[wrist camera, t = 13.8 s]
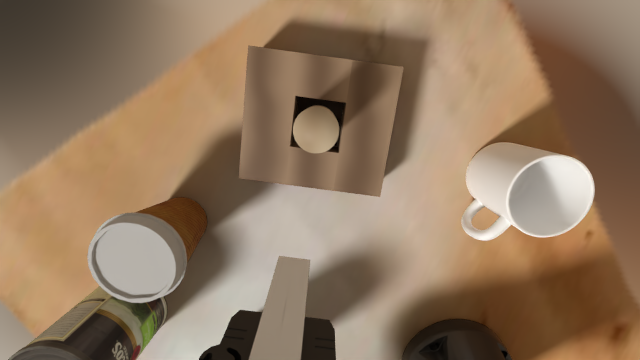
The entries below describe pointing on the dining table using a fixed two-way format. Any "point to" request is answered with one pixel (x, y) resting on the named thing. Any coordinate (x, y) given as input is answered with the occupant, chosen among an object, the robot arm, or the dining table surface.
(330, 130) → the peg
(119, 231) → the disposable coffee cup
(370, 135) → the board
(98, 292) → the coffee can
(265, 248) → the dining table surface
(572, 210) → the cup
